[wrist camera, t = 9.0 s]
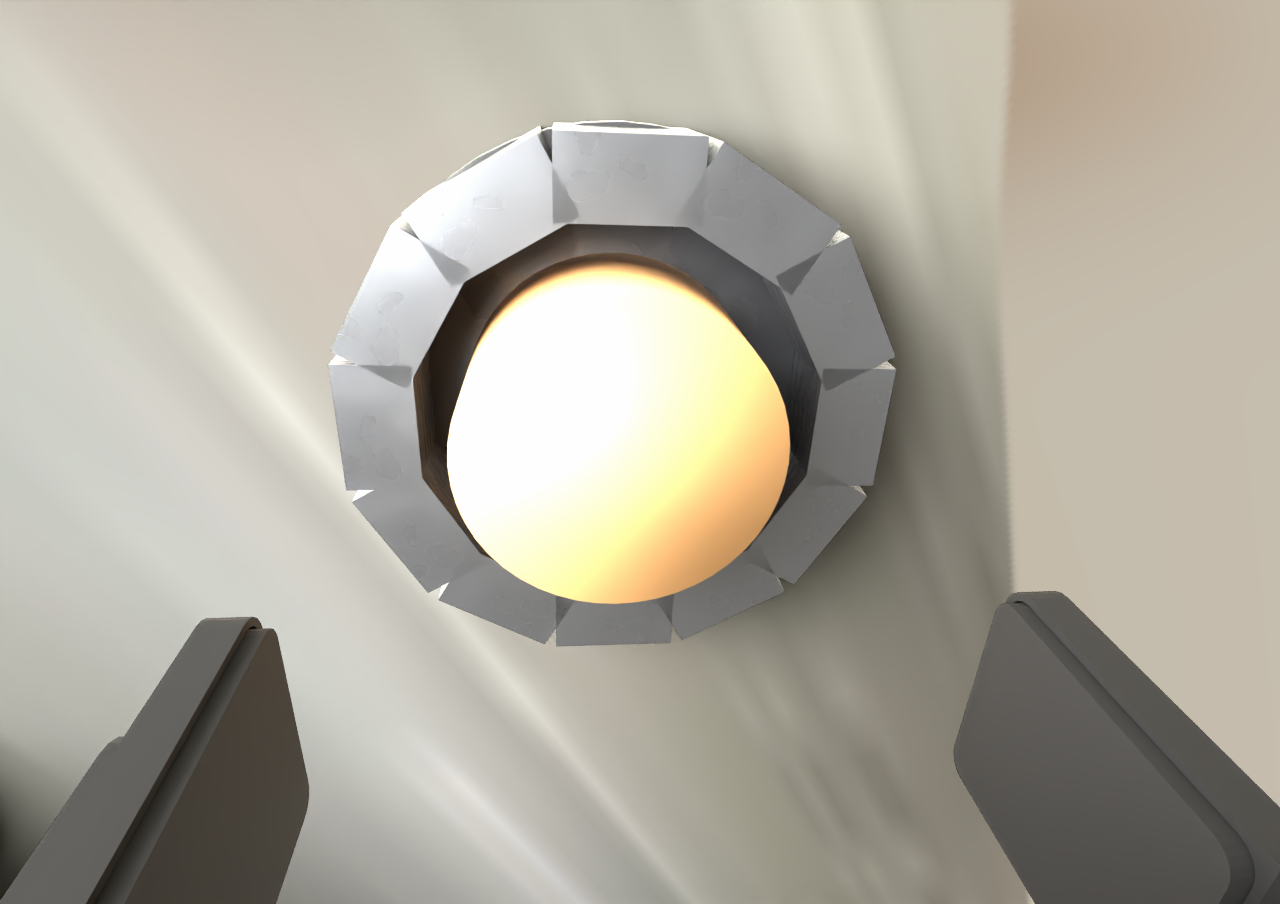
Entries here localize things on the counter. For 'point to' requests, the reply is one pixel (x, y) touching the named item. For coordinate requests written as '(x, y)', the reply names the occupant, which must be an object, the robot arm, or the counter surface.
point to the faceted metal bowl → (607, 223)
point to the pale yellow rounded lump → (615, 432)
